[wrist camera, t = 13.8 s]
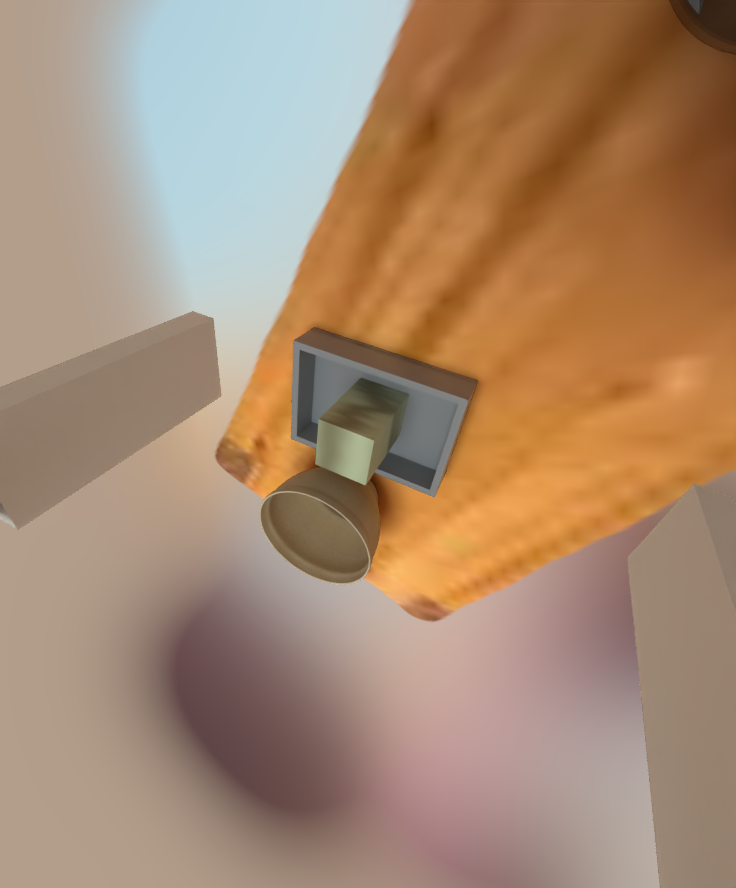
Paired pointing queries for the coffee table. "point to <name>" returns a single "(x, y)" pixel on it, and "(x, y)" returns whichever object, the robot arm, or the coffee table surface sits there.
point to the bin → (430, 388)
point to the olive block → (360, 430)
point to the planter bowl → (323, 525)
